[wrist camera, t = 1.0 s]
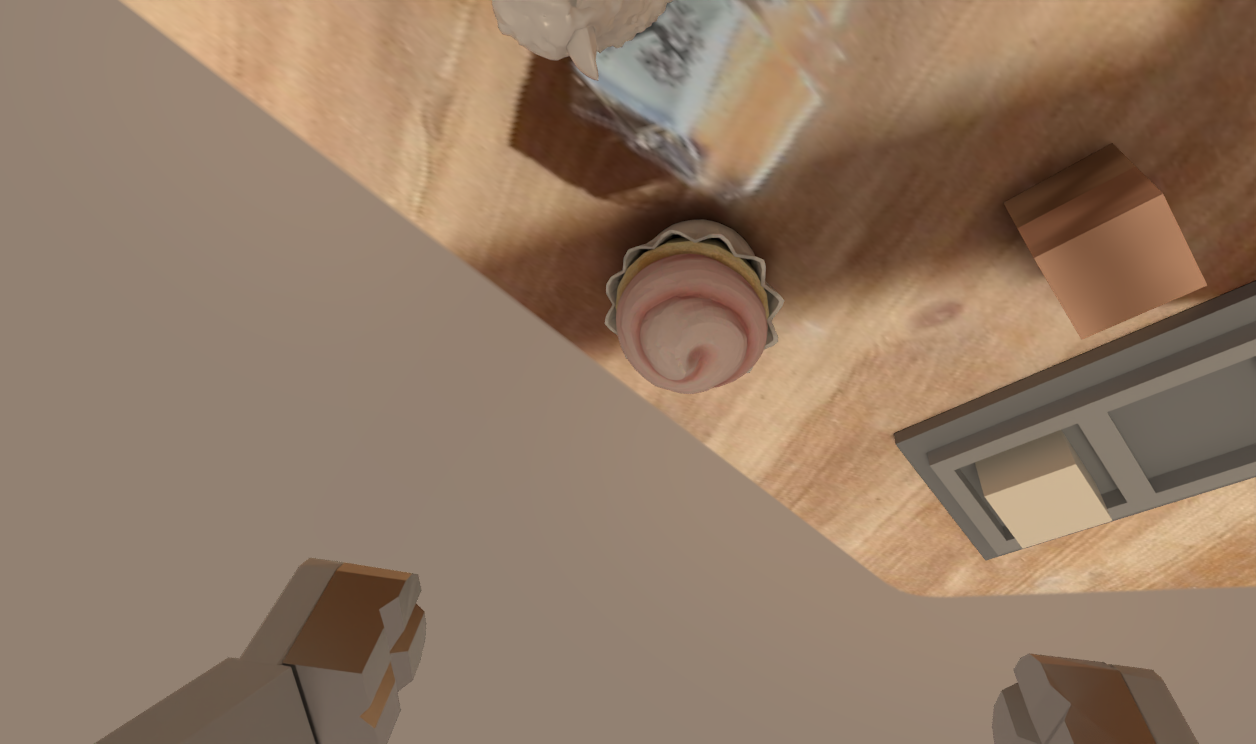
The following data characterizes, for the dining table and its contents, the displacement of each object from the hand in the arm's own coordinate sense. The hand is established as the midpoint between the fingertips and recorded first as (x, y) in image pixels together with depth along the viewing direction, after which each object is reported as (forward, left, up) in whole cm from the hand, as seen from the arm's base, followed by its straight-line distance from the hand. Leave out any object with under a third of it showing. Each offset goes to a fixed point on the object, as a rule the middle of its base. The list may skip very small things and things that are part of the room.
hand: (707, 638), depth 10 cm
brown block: (-8, +15, -31) cm, 35 cm away
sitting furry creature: (+2, -8, -31) cm, 32 cm away
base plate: (-4, +29, -31) cm, 42 cm away
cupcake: (+9, +7, -31) cm, 33 cm away
